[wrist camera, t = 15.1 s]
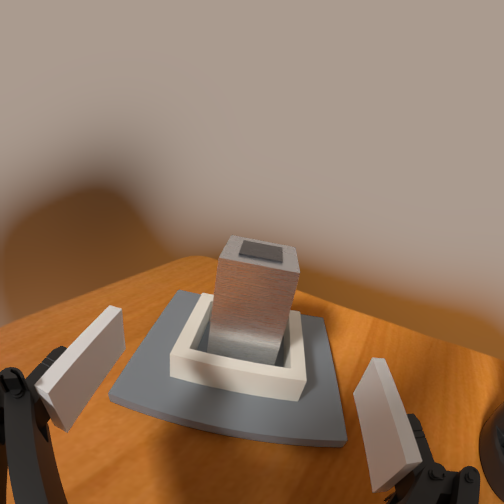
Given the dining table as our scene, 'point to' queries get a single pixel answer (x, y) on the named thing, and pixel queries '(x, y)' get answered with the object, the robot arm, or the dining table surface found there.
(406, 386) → the dining table surface
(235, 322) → the tall square post
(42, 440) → the robot arm
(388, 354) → the dining table surface
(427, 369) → the dining table surface
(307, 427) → the cradle
